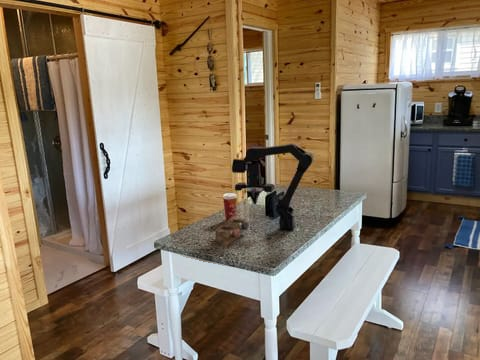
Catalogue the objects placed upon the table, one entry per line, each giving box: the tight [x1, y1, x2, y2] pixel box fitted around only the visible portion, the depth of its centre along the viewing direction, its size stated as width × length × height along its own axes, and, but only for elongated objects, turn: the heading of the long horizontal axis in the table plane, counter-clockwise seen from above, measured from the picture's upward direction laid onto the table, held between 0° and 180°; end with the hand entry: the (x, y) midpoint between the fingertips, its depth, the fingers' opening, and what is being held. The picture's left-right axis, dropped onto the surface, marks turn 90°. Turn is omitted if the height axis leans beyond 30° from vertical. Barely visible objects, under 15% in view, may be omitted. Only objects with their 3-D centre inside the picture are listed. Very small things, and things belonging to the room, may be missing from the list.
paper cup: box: [222, 192, 238, 222], centre depth 206 cm, size 8×8×14 cm
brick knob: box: [223, 229, 241, 239], centre depth 179 cm, size 8×4×4 cm, turn 66°
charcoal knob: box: [239, 221, 250, 231], centre depth 188 cm, size 8×4×4 cm, turn 66°
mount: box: [215, 216, 246, 246], centre depth 185 cm, size 6×20×6 cm, turn 156°
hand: (255, 204), depth 193 cm, fingers closed
